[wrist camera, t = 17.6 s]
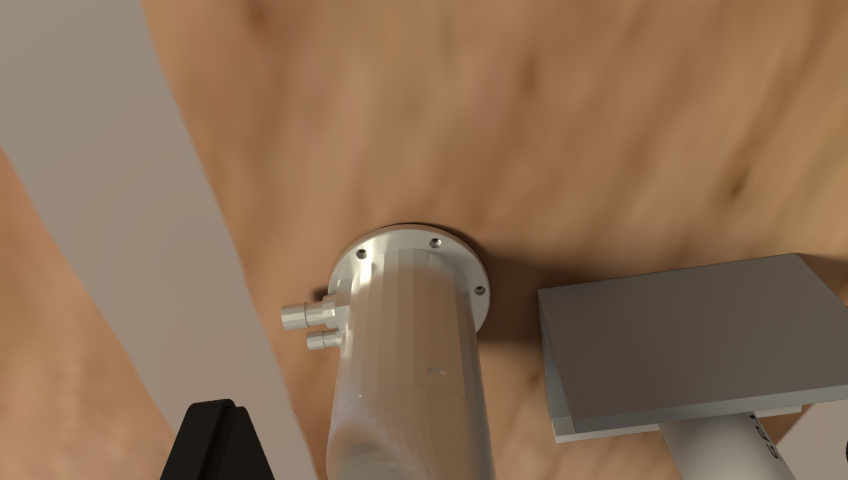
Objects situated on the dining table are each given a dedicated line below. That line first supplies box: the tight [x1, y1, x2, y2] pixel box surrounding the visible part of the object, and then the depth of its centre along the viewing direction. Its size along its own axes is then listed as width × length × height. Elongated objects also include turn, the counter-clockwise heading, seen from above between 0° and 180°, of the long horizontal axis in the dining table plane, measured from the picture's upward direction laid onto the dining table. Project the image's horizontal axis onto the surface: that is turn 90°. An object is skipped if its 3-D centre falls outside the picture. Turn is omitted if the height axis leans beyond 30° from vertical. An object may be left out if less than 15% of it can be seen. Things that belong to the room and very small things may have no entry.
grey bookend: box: [537, 253, 848, 443], centre depth 50 cm, size 20×13×14 cm, turn 99°
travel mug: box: [657, 411, 796, 480], centre depth 45 cm, size 6×7×20 cm
